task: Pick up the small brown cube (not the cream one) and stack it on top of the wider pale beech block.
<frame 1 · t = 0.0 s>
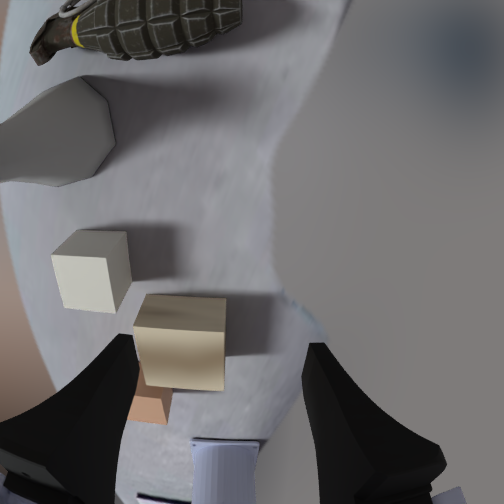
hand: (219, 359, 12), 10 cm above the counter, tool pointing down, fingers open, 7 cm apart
flask: (69, 132, 18), on the counter
cream cube: (104, 255, 22), on the counter
brown cube: (150, 376, 27), on the counter
beech block: (187, 326, 25), on the counter
grenade: (142, 20, 15), on the counter
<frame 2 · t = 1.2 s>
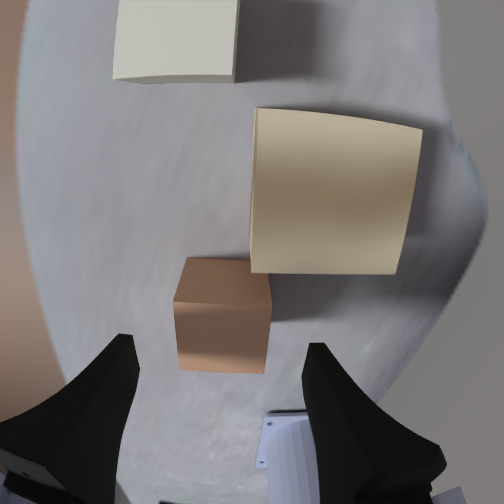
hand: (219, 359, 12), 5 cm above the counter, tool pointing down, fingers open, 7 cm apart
cream cube: (191, 41, 12), on the counter
brown cube: (225, 291, 17), on the counter
beech block: (315, 175, 15), on the counter
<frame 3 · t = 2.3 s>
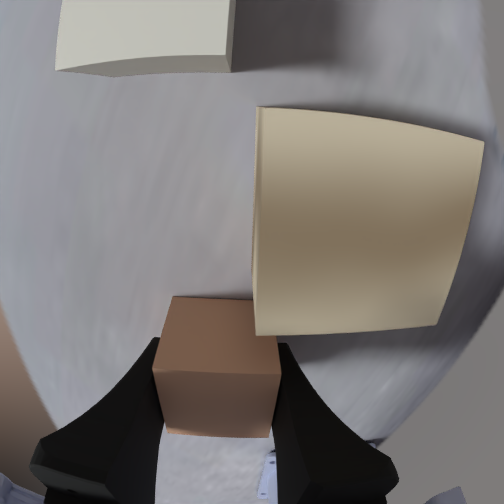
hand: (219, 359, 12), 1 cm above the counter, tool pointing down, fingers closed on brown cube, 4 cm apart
cream cube: (174, 19, 8), on the counter
brown cube: (221, 336, 14), on the counter, touching gripper
beech block: (336, 194, 11), on the counter
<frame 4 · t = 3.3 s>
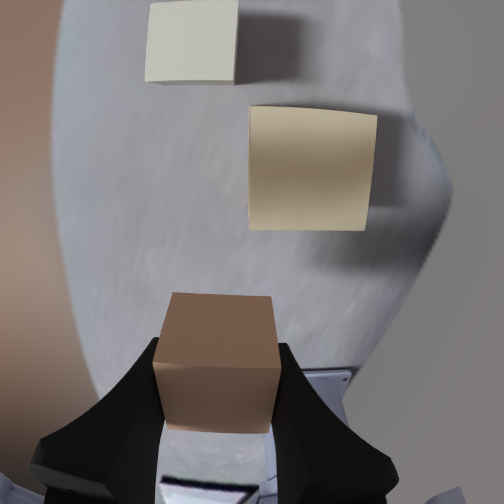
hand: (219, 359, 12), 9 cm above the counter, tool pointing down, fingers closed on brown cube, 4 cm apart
cream cube: (201, 51, 15), on the counter
brown cube: (221, 332, 14), point 8 cm above the counter, touching gripper
beech block: (299, 157, 18), on the counter
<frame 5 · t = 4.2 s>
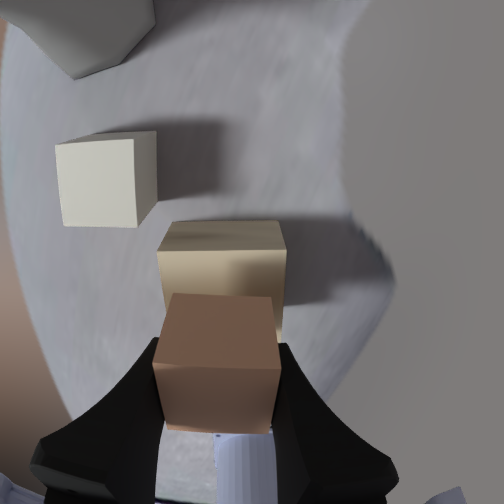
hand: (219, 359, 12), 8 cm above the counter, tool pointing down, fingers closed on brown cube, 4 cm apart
flask: (97, 19, 13), on the counter
cream cube: (123, 167, 16), on the counter
brown cube: (221, 332, 14), point 6 cm above the counter, touching gripper
beech block: (226, 266, 20), on the counter
when the fingers open (7 cm above the counter, at t = 4.7 s): brown cube drops 1 cm, resting on beech block.
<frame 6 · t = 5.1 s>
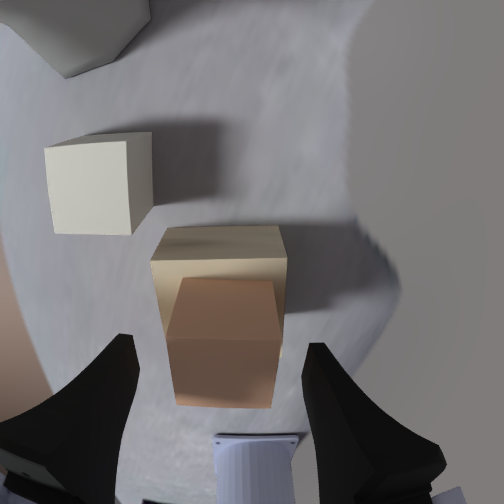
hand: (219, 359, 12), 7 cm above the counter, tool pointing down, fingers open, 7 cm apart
flask: (90, 15, 12), on the counter
cream cube: (117, 170, 16), on the counter
brown cube: (226, 315, 15), point 4 cm above the counter, touching beech block
beech block: (224, 273, 19), on the counter, touching brown cube
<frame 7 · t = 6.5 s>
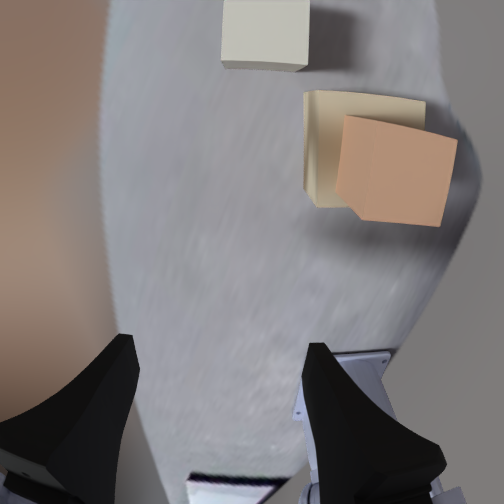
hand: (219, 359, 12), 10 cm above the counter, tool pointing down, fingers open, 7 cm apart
cream cube: (261, 39, 15), on the counter
brown cube: (376, 158, 15), point 4 cm above the counter
beech block: (350, 141, 19), on the counter
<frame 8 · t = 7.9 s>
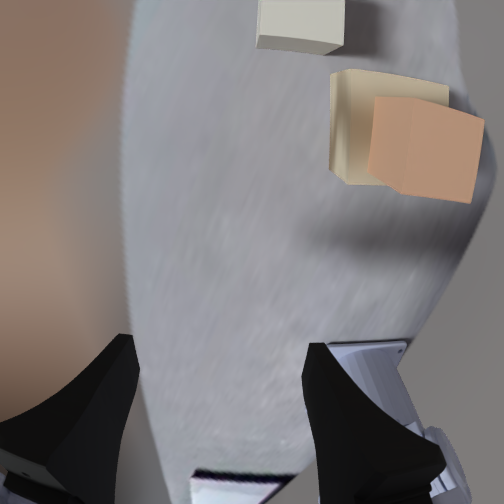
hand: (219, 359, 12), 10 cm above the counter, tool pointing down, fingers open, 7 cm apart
cream cube: (291, 21, 15), on the counter
brown cube: (405, 140, 15), point 4 cm above the counter, touching beech block
beech block: (374, 124, 18), on the counter, touching brown cube
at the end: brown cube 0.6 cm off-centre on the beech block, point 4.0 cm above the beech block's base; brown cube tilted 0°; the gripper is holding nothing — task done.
